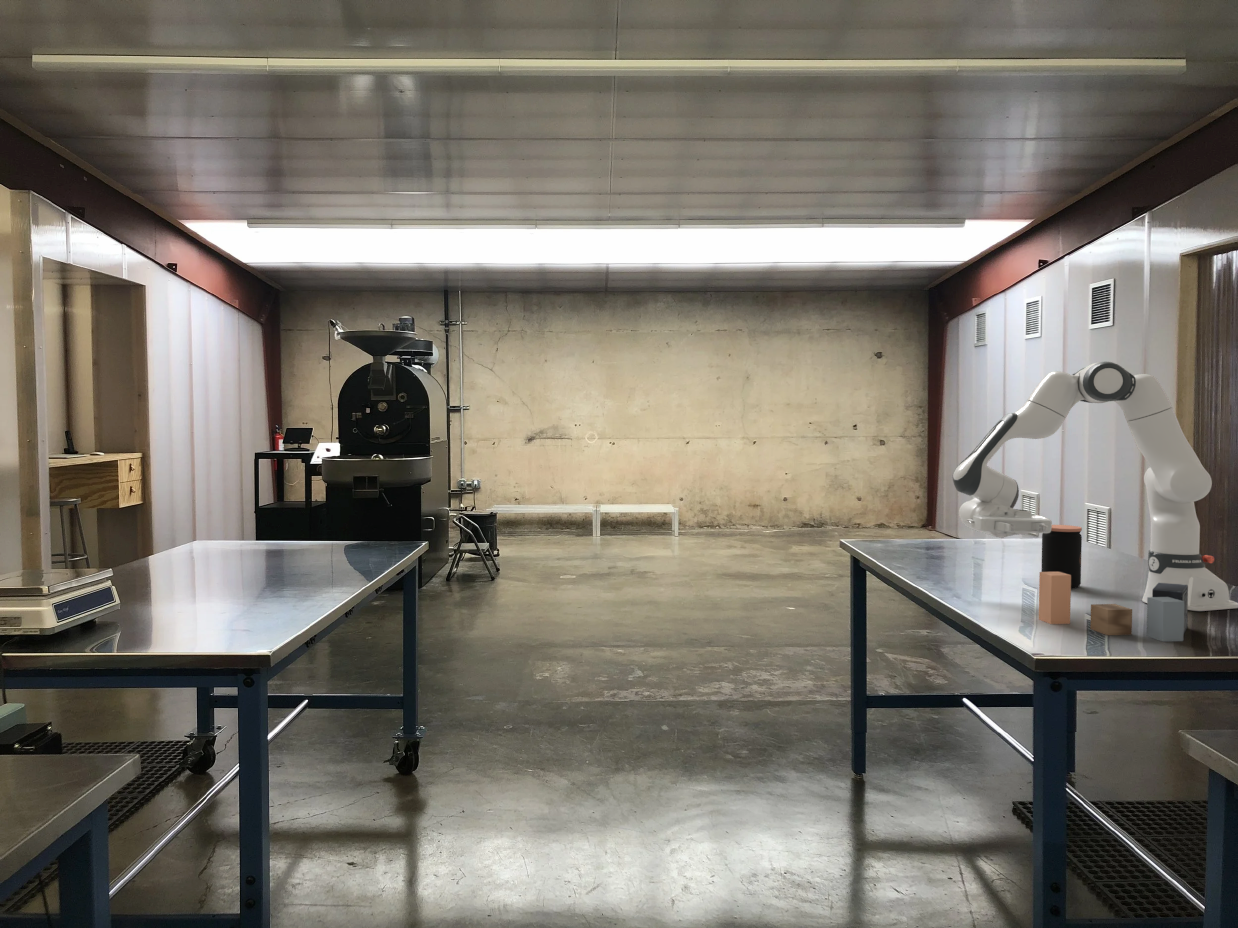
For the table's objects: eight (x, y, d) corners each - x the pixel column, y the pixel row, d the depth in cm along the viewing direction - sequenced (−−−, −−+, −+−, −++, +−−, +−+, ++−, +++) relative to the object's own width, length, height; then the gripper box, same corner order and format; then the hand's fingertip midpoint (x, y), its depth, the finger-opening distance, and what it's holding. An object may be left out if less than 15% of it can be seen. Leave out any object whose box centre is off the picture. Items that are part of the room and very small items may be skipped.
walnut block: (1114, 628, 199) (1114, 603, 198) (1131, 634, 193) (1132, 609, 192) (1090, 629, 198) (1090, 604, 198) (1107, 635, 192) (1107, 609, 192)
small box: (1156, 623, 203) (1157, 581, 203) (1188, 627, 199) (1189, 584, 198) (1150, 632, 195) (1151, 587, 194) (1183, 636, 191) (1184, 591, 190)
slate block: (1166, 635, 192) (1167, 596, 191) (1183, 640, 187) (1184, 601, 186) (1146, 635, 191) (1147, 597, 191) (1162, 641, 186) (1163, 601, 186)
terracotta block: (1057, 618, 209) (1058, 571, 208) (1070, 623, 204) (1071, 575, 203) (1038, 619, 208) (1039, 571, 208) (1050, 624, 203) (1051, 575, 203)
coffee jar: (1088, 589, 247) (1089, 528, 246) (1051, 589, 247) (1053, 528, 246) (1069, 582, 257) (1070, 524, 257) (1034, 582, 258) (1035, 524, 257)
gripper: (964, 508, 229) (992, 515, 215) (1033, 510, 231) (1065, 517, 217) (962, 531, 229) (990, 539, 216) (1032, 533, 232) (1063, 541, 218)
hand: (1028, 528), depth 217 cm, fingers open, 8 cm apart
